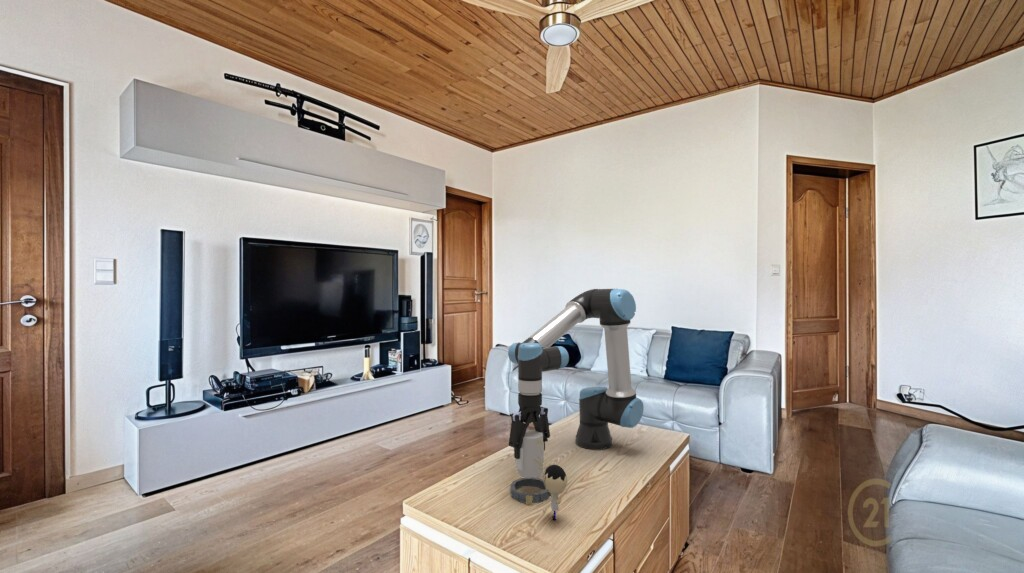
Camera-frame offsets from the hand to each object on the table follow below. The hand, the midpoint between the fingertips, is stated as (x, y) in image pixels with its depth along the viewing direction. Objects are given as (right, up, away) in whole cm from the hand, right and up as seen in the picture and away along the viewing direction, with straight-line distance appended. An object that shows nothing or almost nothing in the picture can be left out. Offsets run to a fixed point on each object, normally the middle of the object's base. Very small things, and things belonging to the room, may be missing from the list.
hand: (529, 464), depth 137 cm
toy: (+6, -9, -15) cm, 19 cm away
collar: (0, -9, 0) cm, 9 cm away
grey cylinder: (0, -2, 0) cm, 2 cm away
